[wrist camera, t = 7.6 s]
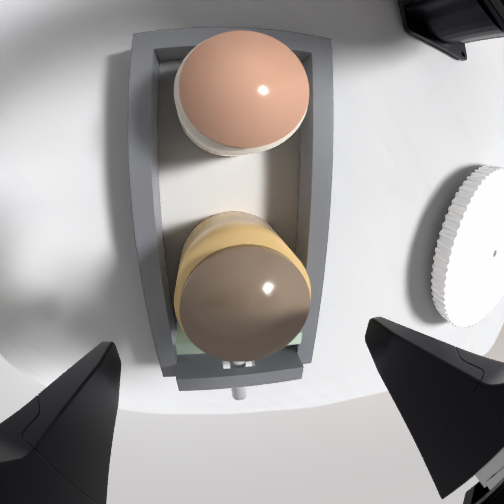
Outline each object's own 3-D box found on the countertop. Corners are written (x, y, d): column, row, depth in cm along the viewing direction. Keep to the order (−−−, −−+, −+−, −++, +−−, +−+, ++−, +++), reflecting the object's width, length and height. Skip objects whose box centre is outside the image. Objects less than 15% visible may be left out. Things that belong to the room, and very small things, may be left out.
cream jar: (243, 45, 11) (263, 8, 7) (299, 121, 13) (338, 109, 9) (157, 97, 11) (145, 71, 7) (218, 177, 13) (229, 182, 9)
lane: (316, 49, 11) (341, 30, 9) (302, 345, 18) (317, 375, 15) (141, 46, 10) (127, 23, 7) (165, 357, 16) (161, 391, 14)
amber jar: (280, 302, 16) (307, 357, 12) (185, 308, 15) (182, 369, 11) (285, 210, 14) (323, 239, 10) (177, 213, 14) (164, 246, 9)
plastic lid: (401, 320, 19) (418, 338, 17) (444, 141, 15) (470, 144, 12) (483, 307, 22) (497, 318, 20) (517, 183, 17) (534, 189, 15)
